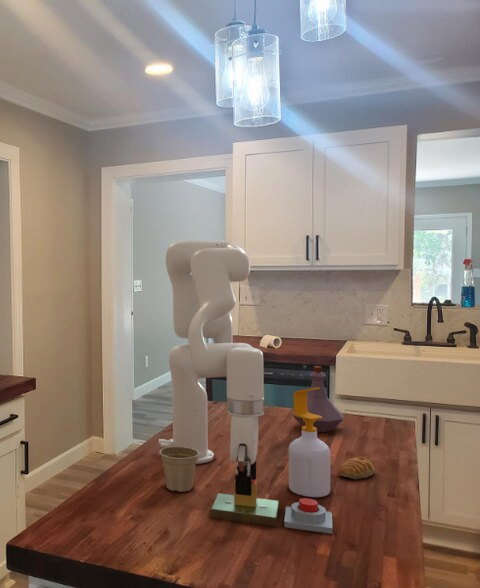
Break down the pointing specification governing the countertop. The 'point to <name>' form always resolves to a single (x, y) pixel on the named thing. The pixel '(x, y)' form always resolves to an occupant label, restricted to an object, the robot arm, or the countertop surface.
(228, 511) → the plate
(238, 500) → the yellow bar
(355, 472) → the pastry
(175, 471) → the flower pot
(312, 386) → the flask
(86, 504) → the countertop surface
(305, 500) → the button
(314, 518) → the grey square piece
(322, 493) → the soap bottle
